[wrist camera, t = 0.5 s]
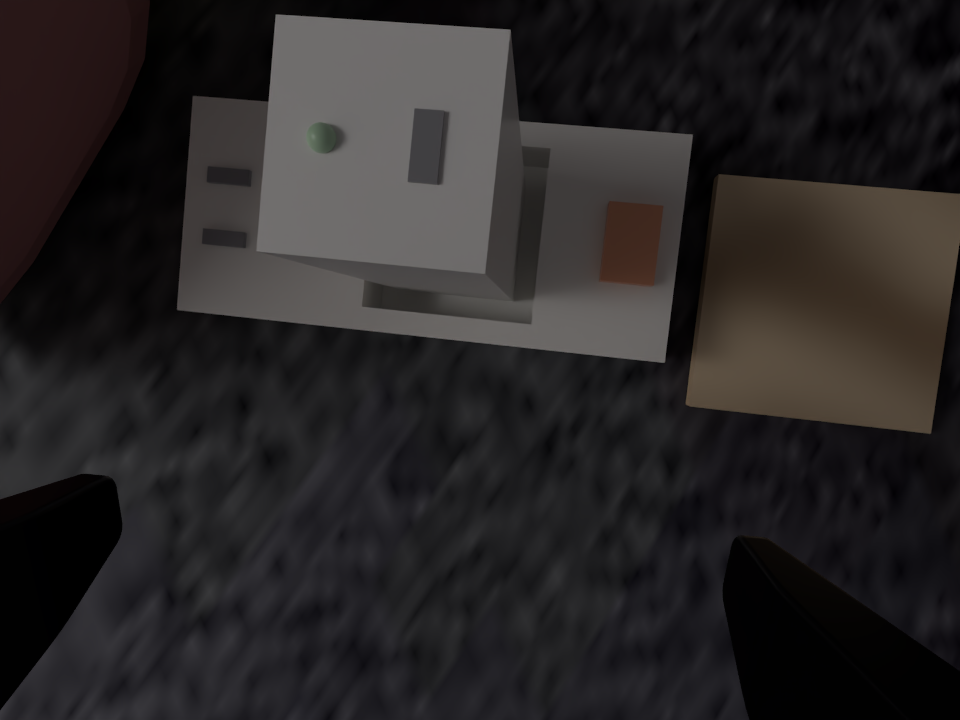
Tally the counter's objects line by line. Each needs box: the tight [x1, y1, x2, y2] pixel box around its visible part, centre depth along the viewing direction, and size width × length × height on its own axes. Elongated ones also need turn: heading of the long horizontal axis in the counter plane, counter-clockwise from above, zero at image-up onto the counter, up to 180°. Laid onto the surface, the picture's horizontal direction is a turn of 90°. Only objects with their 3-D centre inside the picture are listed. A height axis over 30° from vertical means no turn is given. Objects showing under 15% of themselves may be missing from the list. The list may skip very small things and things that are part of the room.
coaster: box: [686, 174, 960, 434], centre depth 22 cm, size 8×8×1 cm
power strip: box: [177, 96, 693, 363], centre depth 21 cm, size 7×16×4 cm, turn 84°
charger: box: [256, 14, 526, 301], centre depth 17 cm, size 4×4×12 cm
